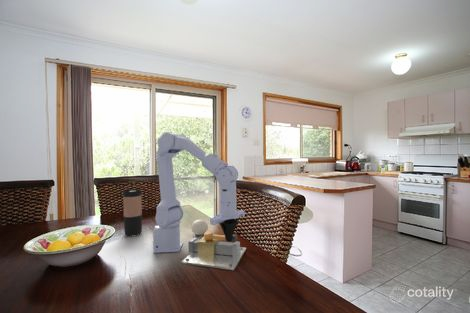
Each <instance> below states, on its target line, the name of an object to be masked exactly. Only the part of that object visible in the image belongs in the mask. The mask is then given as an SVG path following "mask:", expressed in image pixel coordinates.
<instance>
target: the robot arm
mask: <svg viewBox="0 0 470 313" xmlns="http://www.w3.org/2000/svg"><path fill="white" fill-rule="evenodd" d="M157 145H158V148H157V152H156V161H157V172H158V181H159V183H158V184H159V191H160V192H159V193H160V202H159V203H158V205H157V206H156V214H155V217H154V218H155V223H156V224H157V225H155V226H154V229H153V236H152V238H153V242H152V243H153V251H152V252H153V254H156V253H158V254H159V253H179V252H180V250H181V248H182V246H183V242H181V230H180V229H181V227H180V225H181V221H182V219H183V216H184V211H183V209H182V206H181V202H180V200H178V199H177V196H176V195H177V194H176V186H175V175H174V166H173V158H174V157H175V156H176V155H178V153H180V152H181V151H183V150H184V151H186V152H187V153H189V154H190V155H192V156H193V157H195V158H196V159H198V160H199V161H200V162H201V167H203V168H204V169H205V170H206V171H208V173H209V172H210V173H211V175H213V176H214V177H215V178H216V181H217V183H218V185H219V213H218V215H216V216H213V217H211V218H209V224H210V225H212V226H216V225H220V228H221V229H222V231H223V235H225V238H226V240H225V242H232V237H233V235H234V233H235V229H236V227H237V226H238V224H239V220H238V218H241V217H242V218H243V217H245V215H246V214H245V210H241V209H240V210H237V208H238V207H237V180H238V179H239V178H238V177H239V172H238V170H237V168H236V167H235V166H233V165H229V163H228V162H227V161H224V160H222V159H221V158H219V157H218V154H217V153H210V152H209V153H207V152H206V151H205V150H203V149H202V148H201V147H199V145H198V144H196V143H195V142H194V141H193V140H192V139H191V138H190V137H189V136H186V135H185V134H183V133H173V132H169V131H164V132H163V133H162V134H161V135H160V136H159V137H158V138H157ZM232 243H233V242H232Z"/></svg>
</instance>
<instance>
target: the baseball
mask: <svg viewBox="0 0 470 313" xmlns="http://www.w3.org/2000/svg"><path fill="white" fill-rule="evenodd" d="M208 229H209V226H208V222H206V220H203V219H195V220H194V221H193V222H192V224H191V231H192V233H193V234H194V235H196V236H202V235H204V233H206V232H208Z"/></svg>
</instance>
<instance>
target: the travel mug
mask: <svg viewBox="0 0 470 313" xmlns="http://www.w3.org/2000/svg"><path fill="white" fill-rule="evenodd" d="M122 194H123V225H124V228H123V229H124V236H125V235H127V236H126V237H133V236H132V235H136V236H138V235H137V234H139V235H141V234H142V233H141V232H143V230H142V229H143V228H142V227H143V226H142V225H143V209H142V208H143V207H142V206H143V205H142V190H141V189H140V188H139V189H138V188H134V189H133V188H132V189H125V190H123V193H122ZM140 233H141V234H140Z"/></svg>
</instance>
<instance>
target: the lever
mask: <svg viewBox="0 0 470 313" xmlns="http://www.w3.org/2000/svg"><path fill="white" fill-rule="evenodd" d="M203 237H204V239H205V240H212V239H216V240H219V241H226V238H225V235H224V234H215V233H214V232H211V231H206V232H205V233H204V234H203ZM237 241H238V234H233V237H232V243H235V242H237Z"/></svg>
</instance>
